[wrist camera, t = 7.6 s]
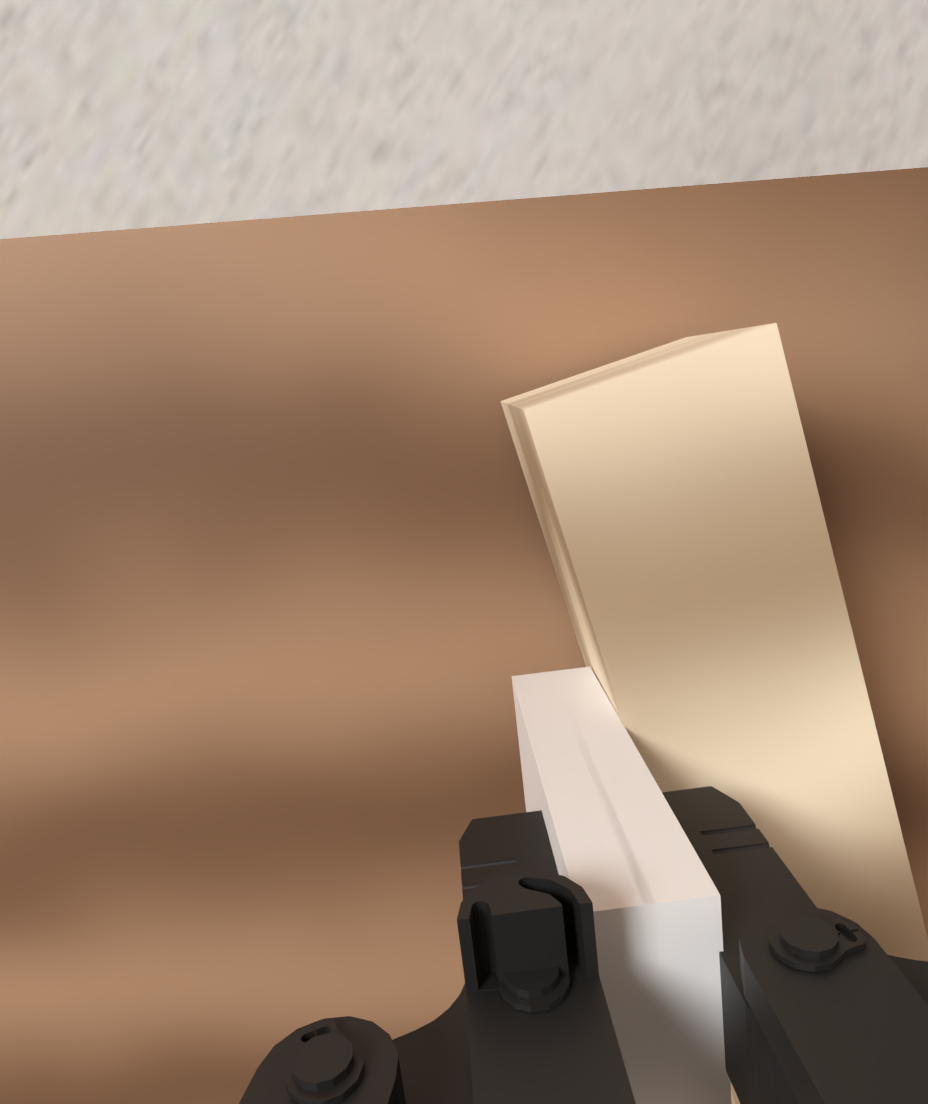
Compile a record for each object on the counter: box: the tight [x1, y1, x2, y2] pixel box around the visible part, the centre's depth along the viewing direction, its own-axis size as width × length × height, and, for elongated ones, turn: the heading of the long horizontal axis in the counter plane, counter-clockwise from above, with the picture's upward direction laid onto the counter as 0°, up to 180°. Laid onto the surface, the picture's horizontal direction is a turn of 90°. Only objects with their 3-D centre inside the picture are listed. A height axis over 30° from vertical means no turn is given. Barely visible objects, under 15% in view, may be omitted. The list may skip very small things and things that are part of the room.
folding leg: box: [500, 323, 928, 1104], centre depth 14 cm, size 19×4×5 cm, turn 19°
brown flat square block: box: [0, 167, 928, 1104], centre depth 17 cm, size 24×24×6 cm
